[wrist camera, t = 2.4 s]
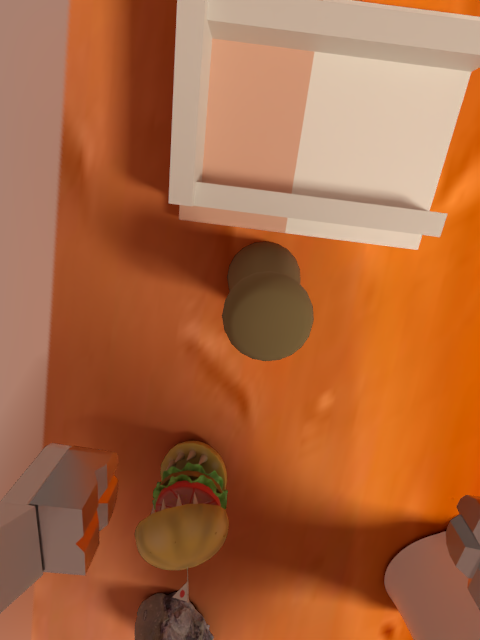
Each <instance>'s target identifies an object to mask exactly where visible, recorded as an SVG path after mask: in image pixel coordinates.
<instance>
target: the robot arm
mask: <svg viewBox="0 0 480 640" xmlns="http://www.w3.org/2000/svg"><path fill="white" fill-rule="evenodd" d="M117 467H118V454H117V453H116V452H112V451H106V450H99V449H92V448H85V447H79V446H68V445H62V444H56V443H51V444H49V445H47V446H46V447H45V448H44V449H43V450H42V451H41V453H40V454H39V455H38V456H37V457H36V459H35V460H34V461H33V462H32V464H31V465H30V466H29V467H28V468H27V470H26V471H25V472H24V473H23V474H22V476H21V477H20V478H19V479H18V480H17V482H16V483H15V484H14V485H13V487H12V488H11V489H10V490H9V492H8V493H7V494H6V495H5V497H4V498H3V499H2V500H1V501H0V613H1V612H2V611H3V610H4V609H6V608H7V607H8V606H9V605H10V604H11V603H12V602H13V601H14V600H16V599H17V598H18V597H19V596H20V595H21V594H22V593H23V592H24V591H25V590H27V589H28V588H29V587H30V586H31V585H32V584H33V583H34V582H36V581H37V580H38V579H39V578H40V577H41V576H42V575H43V572H51V573H63V574H74V575H86V573H87V571H88V569H89V566H90V564H91V562H92V559H93V557H94V555H95V553H96V550H97V548H98V546H99V531H100V530H101V529H103V528H104V527H105V526H107V525H108V523H109V521H110V518H111V516H112V513H113V510H114V507H115V503H116V500H117V493H118V479H117V478H116V477H115V475H114V473H115V471H116V469H117ZM457 509H458V512H459V514H460V515H458V516H457V517H455V518H453V519H452V520H450V522H449V524H448V527H447V530H446V531H444V532H441V533H438V534H435V535H432V536H428V537H426V538H423V539H420V540H418V541H416V542H414V543H412V544H410V545H409V546H407V547H406V548H404V549H403V550H402V551H401V552H399V553H398V554H397V555H396V556H395V557H394V558H393V560H392V561H391V562H390V564H389V566H388V568H387V570H386V573H385V578H384V584H385V588H386V591H387V593H388V595H389V596H390V598H391V599H392V601H393V603H394V604H395V606H396V607H397V609H398V611H399V613H400V614H401V616H402V618H403V620H404V622H405V623H406V625H407V627H408V629H409V631H410V633H411V635H412V637H413V639H414V640H480V496H471V495H465V496H464V497H462V498H461V499H460V501H459V503H458V505H457Z"/></svg>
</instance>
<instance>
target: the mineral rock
mask: <svg viewBox="0 0 480 640" xmlns="http://www.w3.org/2000/svg"><path fill="white" fill-rule="evenodd" d="M176 593H177V592H173V593H171V594H169V595H165V594H162V593H157V594H154V595H152V596H151V597H149V598H147V599H146V600H145V601H143V602H142V603H141V605H140V607H139V609H138V612H137V616H138V617H137V619H136V623H135V640H213V638H214V637H213V635H212V634H211V633H210V631H209V627H210V626H209V625H208V624H206V622H205V619H204V618H203V616H202V615H201V614H200V613H199V612H198V611H197V610H196V609H195V608H194V606H193V605H192V604H191V603H190V601H189V603H187V601H183V600H180V599H176V598H173V596H174V595H175V594H176Z"/></svg>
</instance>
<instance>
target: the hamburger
mask: <svg viewBox="0 0 480 640" xmlns="http://www.w3.org/2000/svg"><path fill="white" fill-rule="evenodd" d="M160 474H161V481H162V482H158V483H157V487H156V488H155V489H154V491H153V498H154V500H153V509H152V511H151V515H149V516H148V517H147V518H145V519H144V520H142V521H141V522H139V524H138V526H137V527H136V530H135V539H136V545H137V549H138V551H139V553H140V555H141V556H142V558H143V559H144V560H145V561H146V562H148V563H149V564H151V565H152V566H154V567H156V568H160V569H164V570H184V569H187V583H186V584H185V585H184V586H183V587H182V588H181V589H180V590H179V591H178V592H177V593H176V594H175V595H174V596H173V598H176V599H180V600H183V601H187V603H189V588H188V568H192V567H195V566H198V565H200V564H202V563H203V562H205V561H207V560H209V559H210V558H211V557H213V556H214V555H215V554H216V553H217V552H218V551H219V549H220V548H221V547H222V546H223V544H224V542H225V540H226V537H227V534H228V528H229V519H228V516H227V512H226V510H225V509H226V504H227V492H228V490H226V483H227V472H226V467H225V464H224V462H223V460H222V458H221V456H220V455H219V454H218V452H217V451H216V450H215V449H213V448H212V447H211V446H209V445H208V444H206V443H203V442H200V441H186V442H182V443H178V444H177V445H175V446H174V447H173V448H171V449H170V450H169V452H168V454H167V455H166V456H165V458H164V460H163V461H162V464H161V471H160ZM155 510H156V512H155Z"/></svg>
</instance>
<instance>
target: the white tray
mask: <svg viewBox="0 0 480 640" xmlns="http://www.w3.org/2000/svg"><path fill="white" fill-rule="evenodd" d="M479 67H480V17H476V16H469V15H461V14H453V13H445V12H438V11H430V10H422V9H414V8H407V7H399V6H391V5H383V4H376V3H368V2H360V1H353V0H177V16H176V39H175V63H174V86H173V109H172V133H171V156H170V180H169V204H177V205H180V207H179V220H187V221H195V222H203V223H210V224H218V225H226V226H234V227H242V228H250V229H258V230H266V231H273V232H281V233H289V234H297V235H305V236H313V237H321V238H328V239H336V240H344V241H352V242H360V243H368V244H376V245H383V246H391V247H399V248H407V249H415V250H418V247H419V244H420V241H421V237H422V235H428V236H435V237H440V235H441V232H442V229H443V226H444V223H445V220H446V217H447V214H446V213H438V212H430V207H431V204H432V201H433V197H434V194H435V191H436V188H437V184H438V181H439V178H440V174H441V171H442V168H443V164H444V161H445V158H446V154H447V151H448V148H449V144H450V141H451V138H452V134H453V131H454V128H455V124H456V121H457V118H458V114H459V111H460V108H461V104H462V101H463V98H464V95H465V91H466V88H467V85H468V81H469V78H470V75H471V72H472V71H474V70H476V69H477V68H479Z"/></svg>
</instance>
